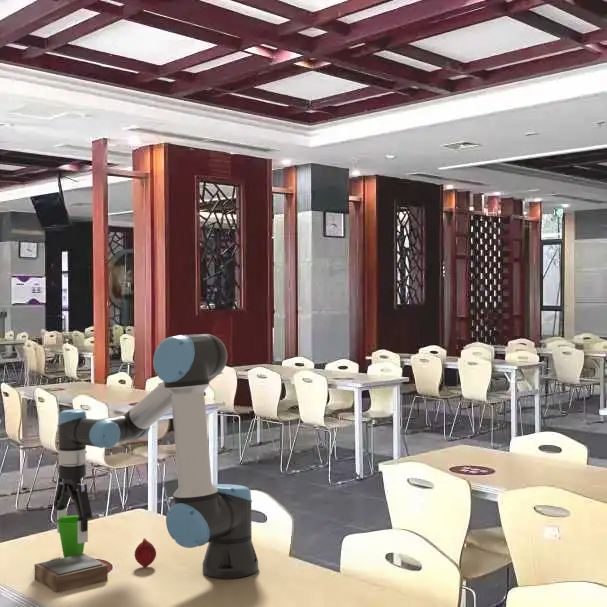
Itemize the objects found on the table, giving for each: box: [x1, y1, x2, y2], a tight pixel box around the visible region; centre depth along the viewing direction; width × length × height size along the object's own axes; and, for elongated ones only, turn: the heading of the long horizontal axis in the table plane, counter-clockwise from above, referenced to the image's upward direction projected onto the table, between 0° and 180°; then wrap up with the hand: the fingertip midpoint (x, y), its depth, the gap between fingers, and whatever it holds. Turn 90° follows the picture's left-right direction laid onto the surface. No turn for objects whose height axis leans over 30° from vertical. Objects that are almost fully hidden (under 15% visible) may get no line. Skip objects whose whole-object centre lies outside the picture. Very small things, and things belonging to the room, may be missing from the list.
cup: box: [56, 514, 90, 558], centre depth 237 cm, size 9×9×11 cm
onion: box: [134, 537, 157, 568], centre depth 228 cm, size 6×6×8 cm
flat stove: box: [34, 553, 109, 594], centre depth 218 cm, size 14×14×4 cm
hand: (72, 537), depth 238 cm, fingers open, 13 cm apart
